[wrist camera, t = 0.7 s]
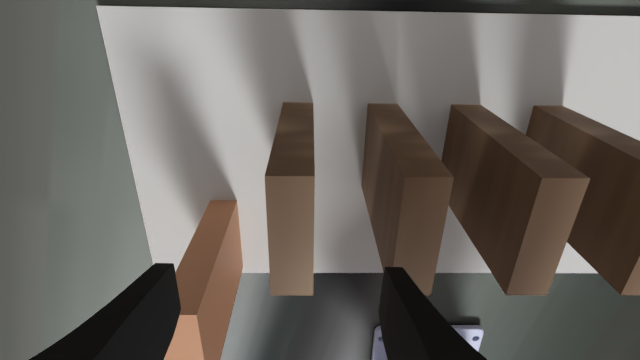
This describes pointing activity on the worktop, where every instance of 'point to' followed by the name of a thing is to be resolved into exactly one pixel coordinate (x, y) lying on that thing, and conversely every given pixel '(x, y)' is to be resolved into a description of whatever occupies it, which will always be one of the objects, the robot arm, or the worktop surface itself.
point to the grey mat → (338, 106)
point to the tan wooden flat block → (208, 284)
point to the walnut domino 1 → (291, 201)
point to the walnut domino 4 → (599, 191)
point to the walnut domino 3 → (510, 198)
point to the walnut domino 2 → (404, 193)
